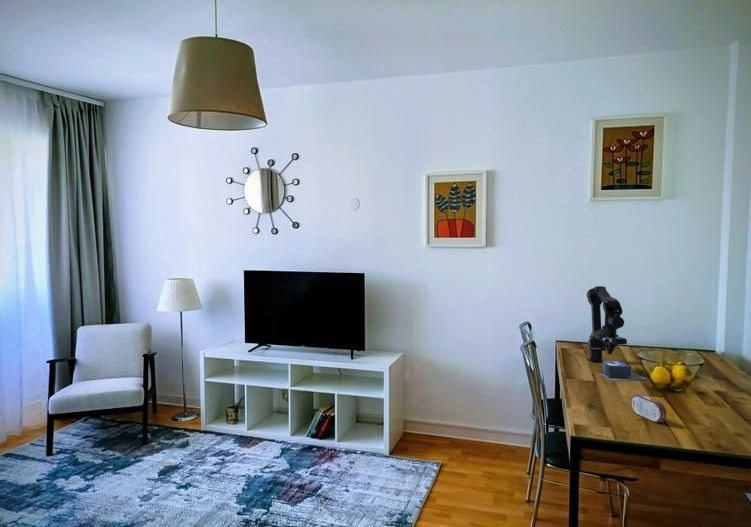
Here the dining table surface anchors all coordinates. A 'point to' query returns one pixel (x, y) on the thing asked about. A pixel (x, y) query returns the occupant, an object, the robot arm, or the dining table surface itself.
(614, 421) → the dining table surface
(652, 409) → the tin
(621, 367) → the small box
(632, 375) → the mat
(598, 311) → the robot arm
